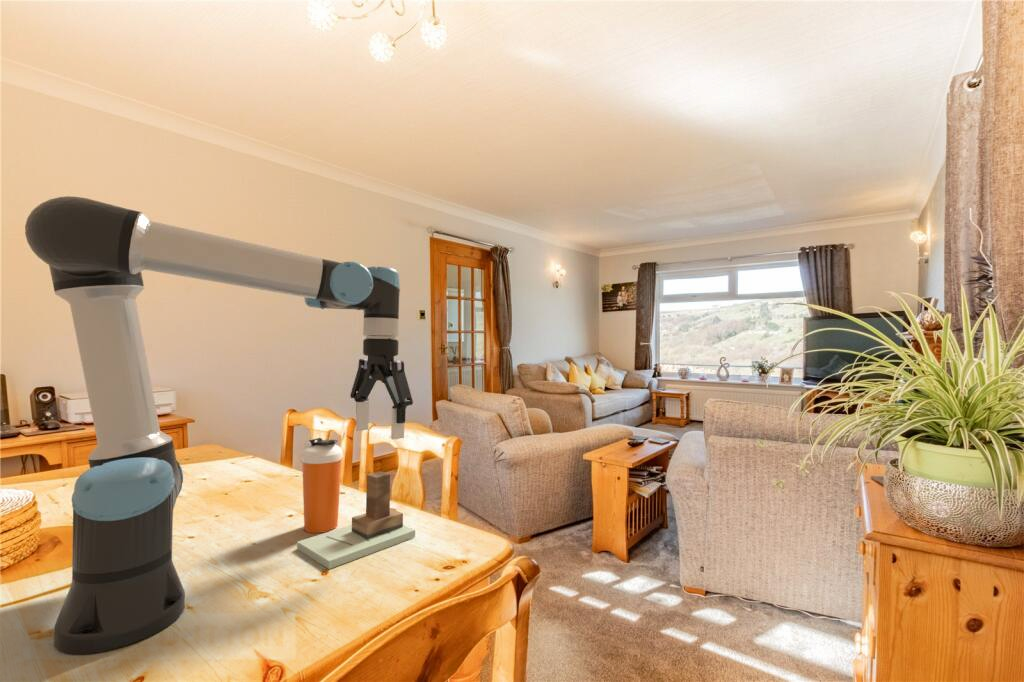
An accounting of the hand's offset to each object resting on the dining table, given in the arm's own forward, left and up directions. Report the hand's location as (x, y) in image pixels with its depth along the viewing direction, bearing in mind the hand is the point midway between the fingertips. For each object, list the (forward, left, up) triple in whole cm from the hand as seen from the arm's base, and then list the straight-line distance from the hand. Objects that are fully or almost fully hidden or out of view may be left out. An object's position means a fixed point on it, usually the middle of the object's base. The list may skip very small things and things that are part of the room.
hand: (379, 434), depth 104 cm
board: (-5, 0, -22) cm, 23 cm away
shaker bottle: (-6, +14, -23) cm, 27 cm away
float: (0, 0, -21) cm, 21 cm away
